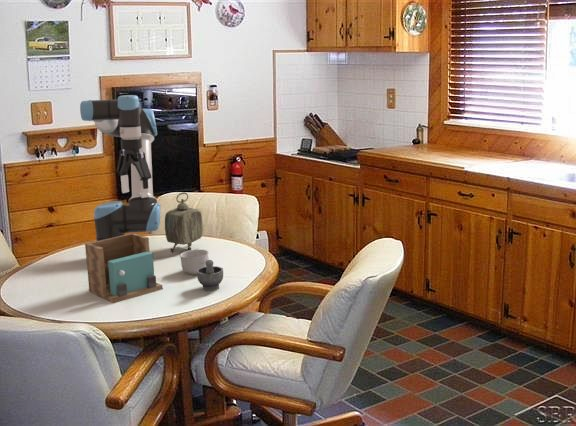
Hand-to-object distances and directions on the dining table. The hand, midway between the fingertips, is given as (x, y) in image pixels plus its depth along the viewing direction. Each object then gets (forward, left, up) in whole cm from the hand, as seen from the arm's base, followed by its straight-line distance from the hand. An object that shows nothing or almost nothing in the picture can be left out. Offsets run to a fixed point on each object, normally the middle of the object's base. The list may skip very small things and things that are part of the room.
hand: (135, 194), depth 281 cm
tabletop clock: (-17, +33, -32) cm, 49 cm away
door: (+16, -13, -30) cm, 36 cm away
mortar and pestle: (+32, +9, -32) cm, 46 cm away
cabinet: (+10, -13, -32) cm, 36 cm away
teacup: (+11, +18, -32) cm, 38 cm away
